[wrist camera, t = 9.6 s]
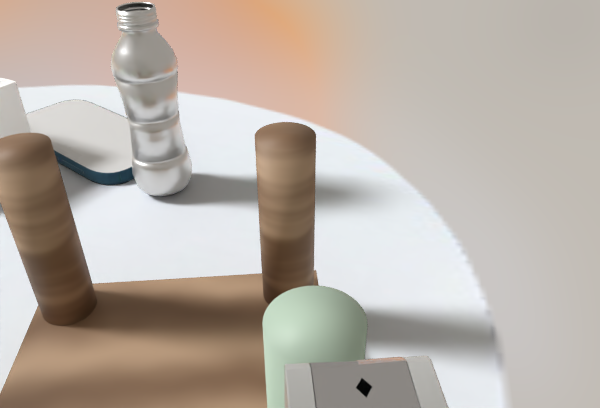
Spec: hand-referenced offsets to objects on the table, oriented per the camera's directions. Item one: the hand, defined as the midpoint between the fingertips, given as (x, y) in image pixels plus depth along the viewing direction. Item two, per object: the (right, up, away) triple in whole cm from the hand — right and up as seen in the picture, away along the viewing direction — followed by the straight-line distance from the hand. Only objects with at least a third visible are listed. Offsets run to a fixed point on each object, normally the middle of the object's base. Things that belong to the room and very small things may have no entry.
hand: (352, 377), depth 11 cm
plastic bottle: (-16, +5, +51) cm, 54 cm away
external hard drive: (-28, +11, +60) cm, 68 cm away
